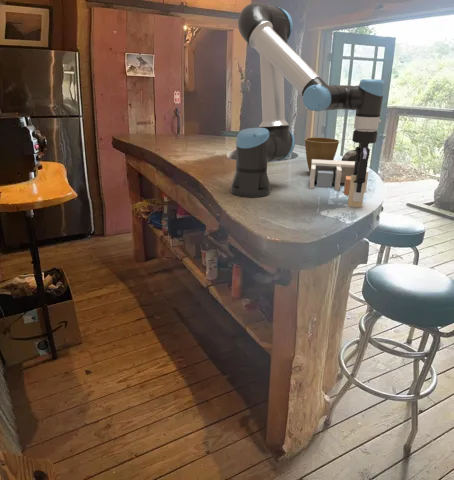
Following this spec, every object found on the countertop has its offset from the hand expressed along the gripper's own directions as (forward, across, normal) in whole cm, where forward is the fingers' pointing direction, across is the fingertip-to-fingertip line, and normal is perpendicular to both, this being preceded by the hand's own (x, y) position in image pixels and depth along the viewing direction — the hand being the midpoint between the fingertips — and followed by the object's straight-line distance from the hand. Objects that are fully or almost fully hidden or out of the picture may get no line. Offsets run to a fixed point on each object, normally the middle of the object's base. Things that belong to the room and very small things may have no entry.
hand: (355, 198), depth 140 cm
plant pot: (+3, +47, +12) cm, 48 cm away
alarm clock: (+3, +45, -3) cm, 46 cm away
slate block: (+2, +27, +10) cm, 28 cm away
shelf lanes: (+2, +26, +5) cm, 27 cm away
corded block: (+2, +8, 0) cm, 9 cm away
